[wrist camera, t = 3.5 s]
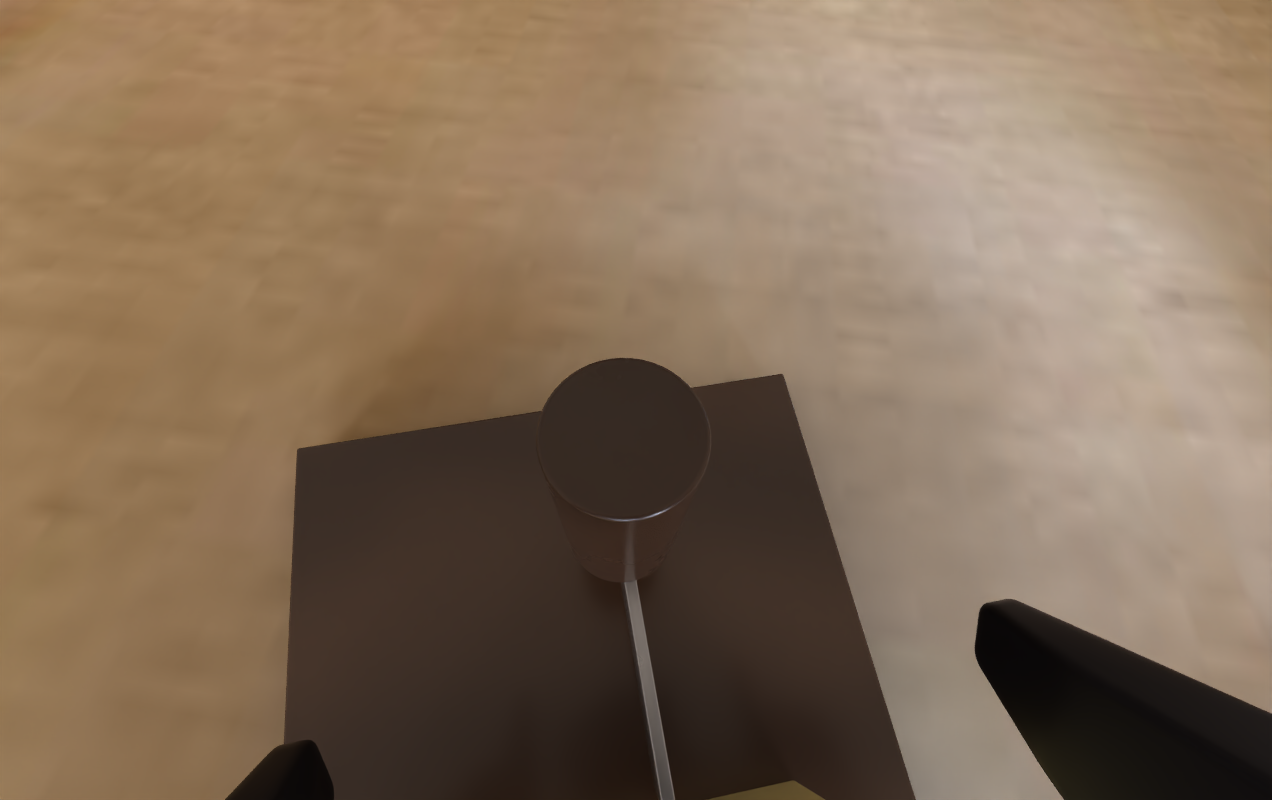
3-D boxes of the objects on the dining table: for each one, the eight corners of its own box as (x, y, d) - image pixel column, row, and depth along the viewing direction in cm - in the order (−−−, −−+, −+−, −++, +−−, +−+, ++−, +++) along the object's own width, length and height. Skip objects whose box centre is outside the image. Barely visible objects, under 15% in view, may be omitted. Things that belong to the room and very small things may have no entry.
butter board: (1004, 1159, 14) (1045, 1212, 13) (290, 1373, 13) (250, 1459, 11) (773, 391, 22) (783, 372, 21) (317, 462, 20) (295, 447, 19)
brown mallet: (710, 777, 15) (834, 917, 7) (609, 799, 15) (601, 976, 6) (655, 500, 18) (691, 344, 10) (570, 515, 18) (525, 369, 9)
